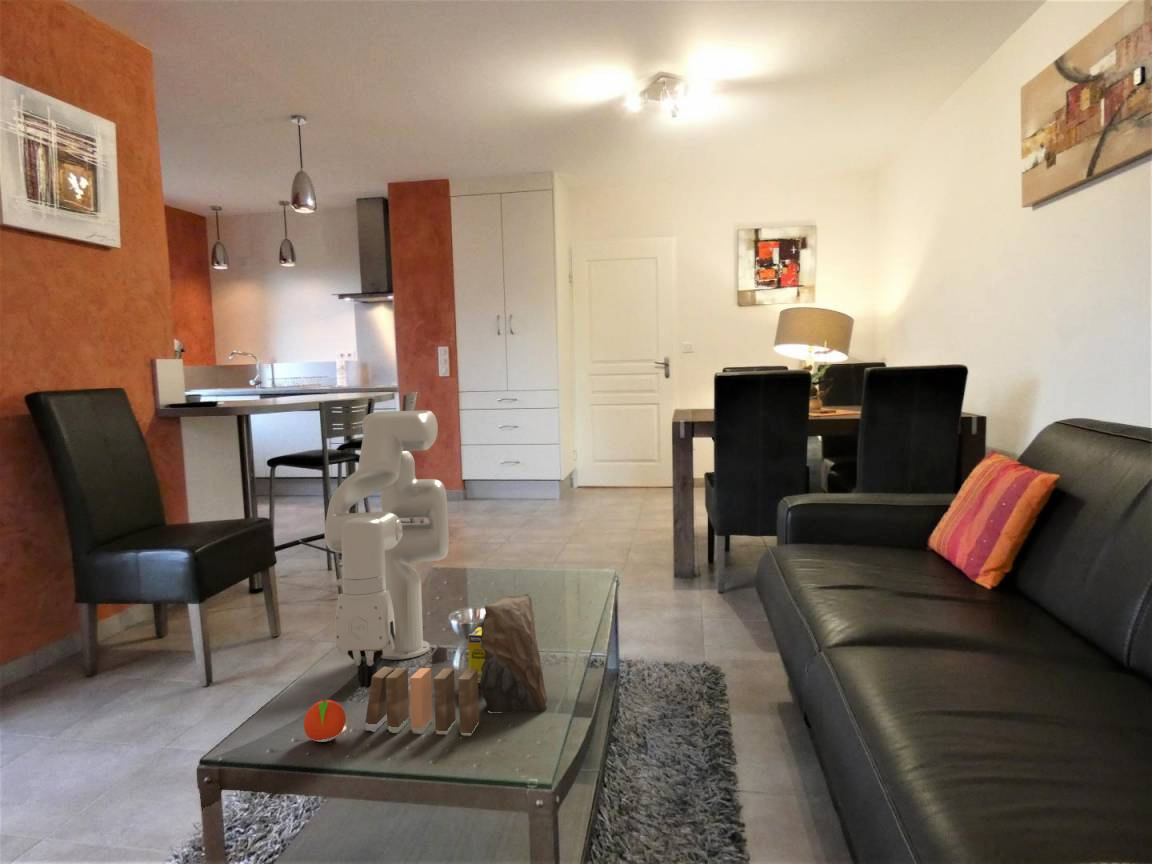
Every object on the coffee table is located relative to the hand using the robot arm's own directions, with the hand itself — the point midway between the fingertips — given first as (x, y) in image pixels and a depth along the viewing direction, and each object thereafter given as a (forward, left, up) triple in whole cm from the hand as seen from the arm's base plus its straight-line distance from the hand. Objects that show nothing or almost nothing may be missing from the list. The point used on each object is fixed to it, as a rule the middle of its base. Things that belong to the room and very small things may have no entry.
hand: (367, 684), depth 122 cm
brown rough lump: (+25, +12, -8) cm, 29 cm away
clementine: (-5, -7, -8) cm, 11 cm away
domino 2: (+6, 0, -8) cm, 10 cm away
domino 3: (+10, 0, -8) cm, 13 cm away
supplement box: (+16, +23, -8) cm, 29 cm away
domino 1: (+1, 0, -8) cm, 8 cm away
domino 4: (+15, 0, -8) cm, 17 cm away
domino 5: (+19, 0, -8) cm, 21 cm away
